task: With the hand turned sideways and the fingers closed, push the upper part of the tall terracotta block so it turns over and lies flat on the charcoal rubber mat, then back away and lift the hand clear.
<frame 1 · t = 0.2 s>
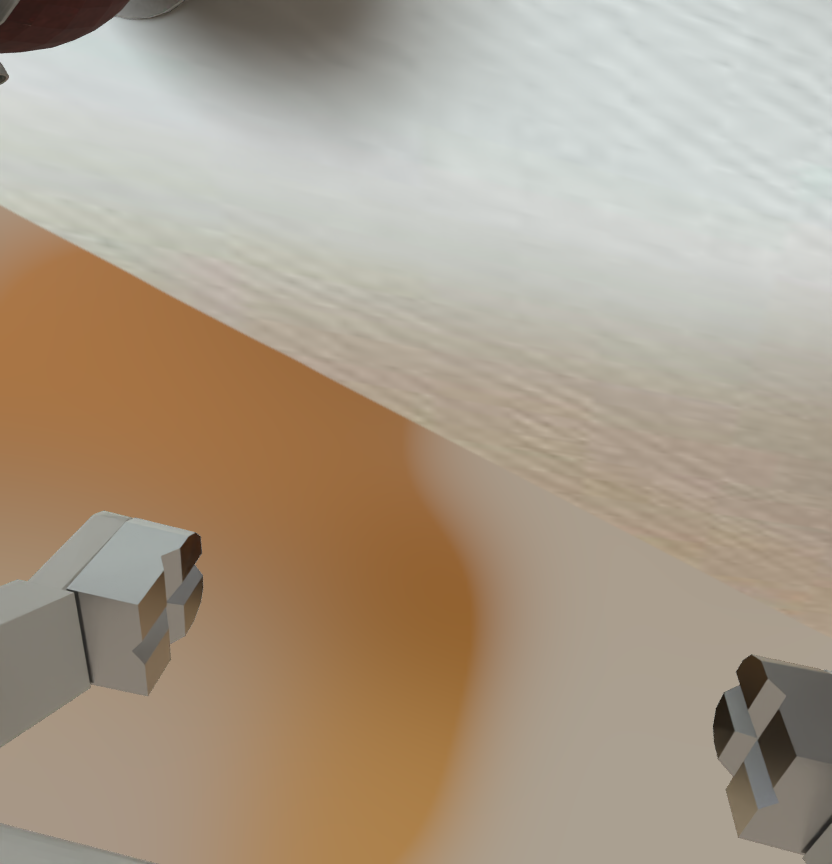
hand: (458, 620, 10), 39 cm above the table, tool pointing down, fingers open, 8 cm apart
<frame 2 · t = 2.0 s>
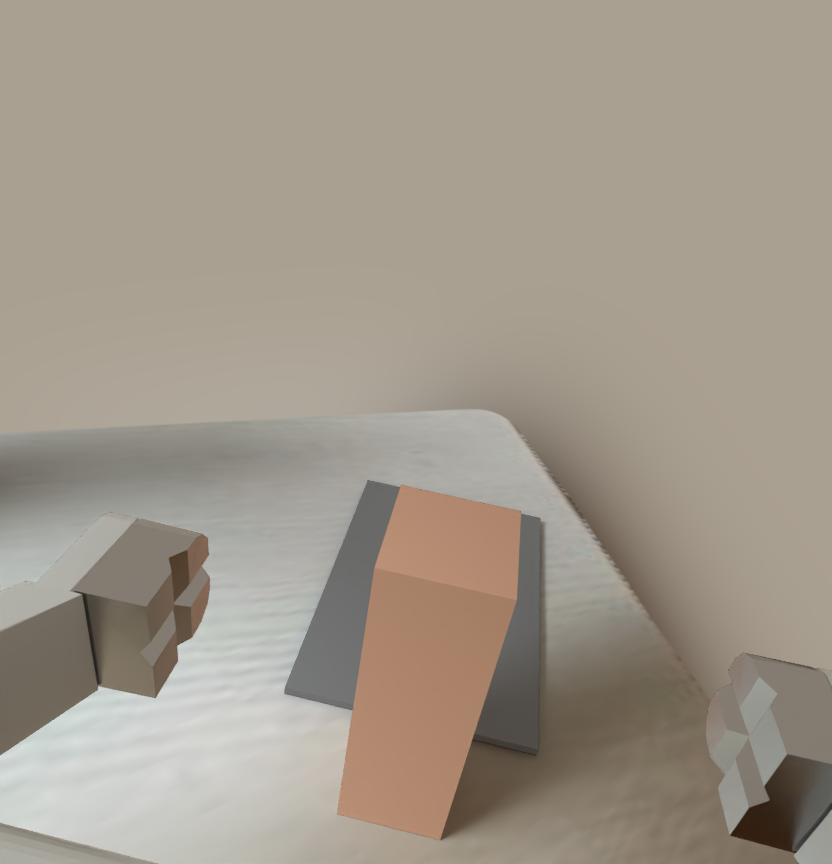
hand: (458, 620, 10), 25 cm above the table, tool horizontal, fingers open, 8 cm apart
terracotta block: (398, 776, 33), on the table
charcoal mat: (434, 592, 44), on the table
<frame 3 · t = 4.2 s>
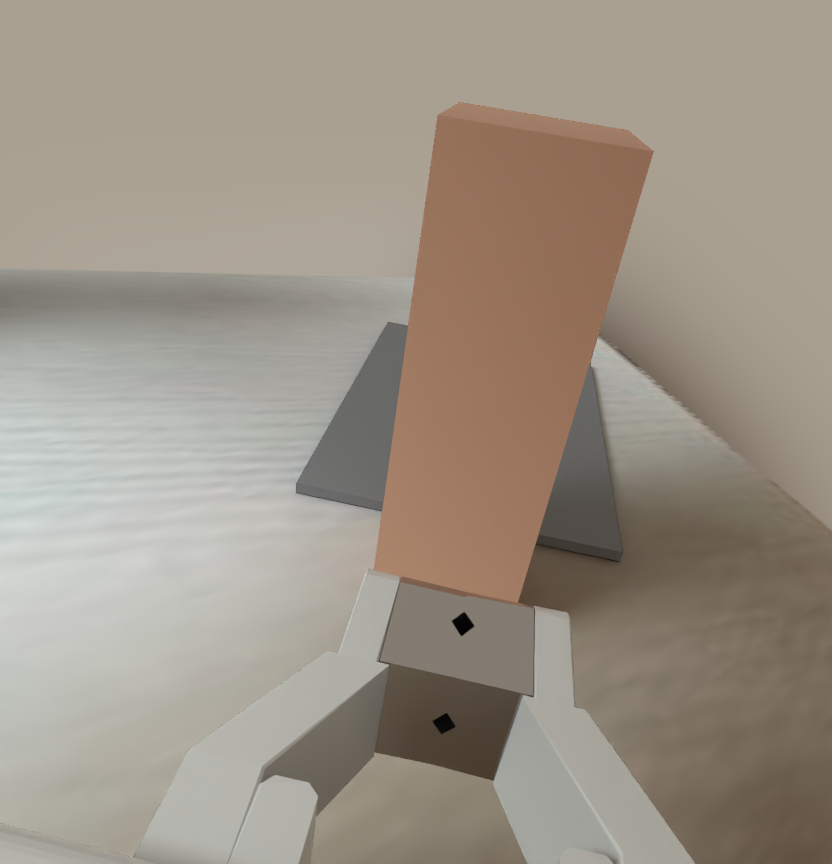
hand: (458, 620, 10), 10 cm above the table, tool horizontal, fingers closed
terracotta block: (446, 574, 25), on the table
charcoal mat: (474, 416, 37), on the table
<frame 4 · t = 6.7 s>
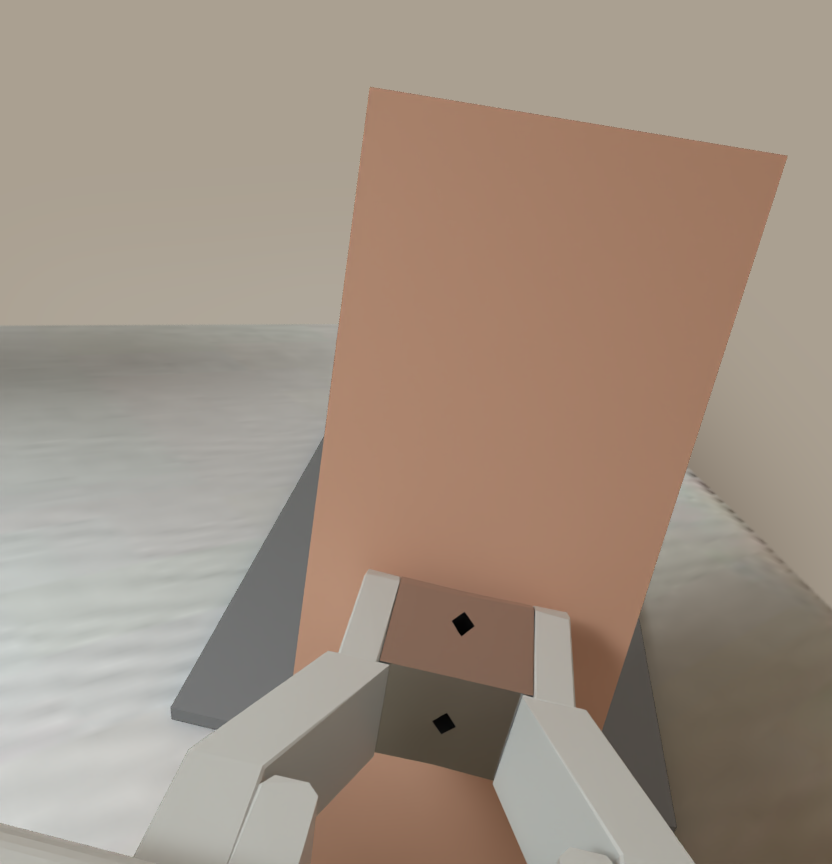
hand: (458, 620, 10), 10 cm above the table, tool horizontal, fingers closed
charcoal mat: (454, 545, 27), on the table
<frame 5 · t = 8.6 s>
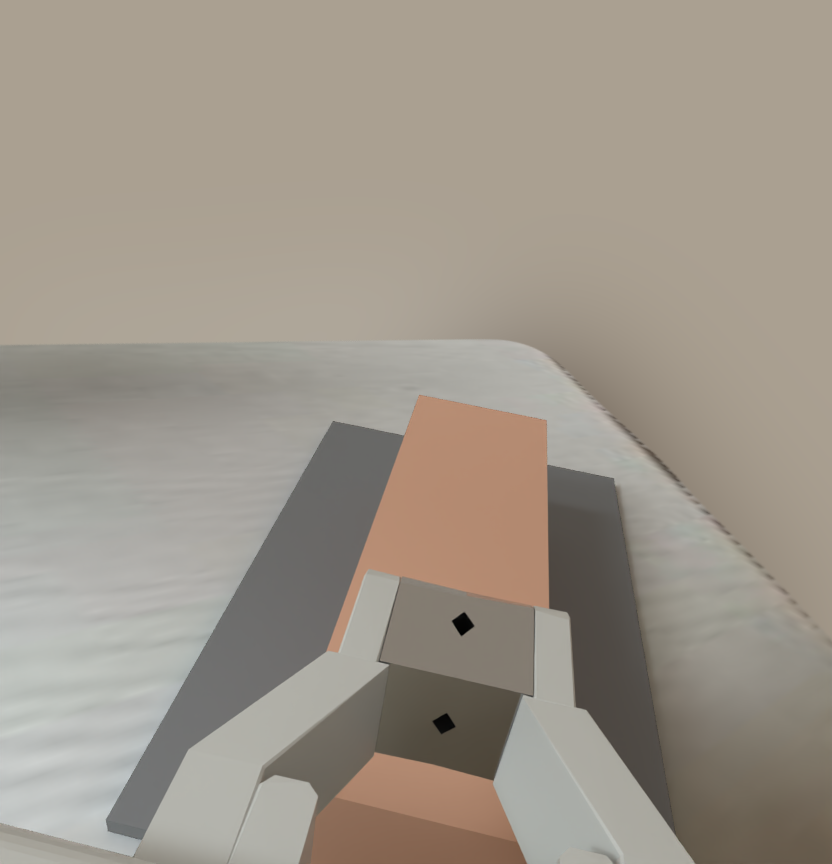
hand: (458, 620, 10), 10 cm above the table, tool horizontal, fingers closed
charcoal mat: (443, 600, 24), on the table
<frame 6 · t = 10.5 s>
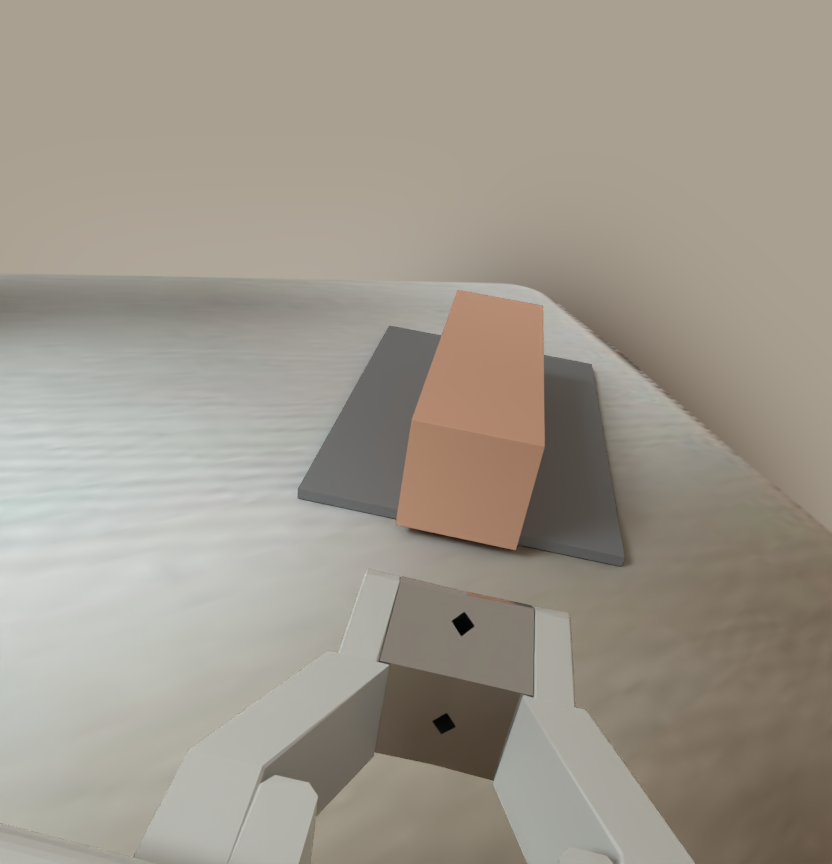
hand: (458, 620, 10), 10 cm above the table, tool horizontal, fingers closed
terracotta block: (465, 488, 26), point 3 cm above the table, tilted 90°, touching charcoal mat
charcoal mat: (475, 420, 37), on the table
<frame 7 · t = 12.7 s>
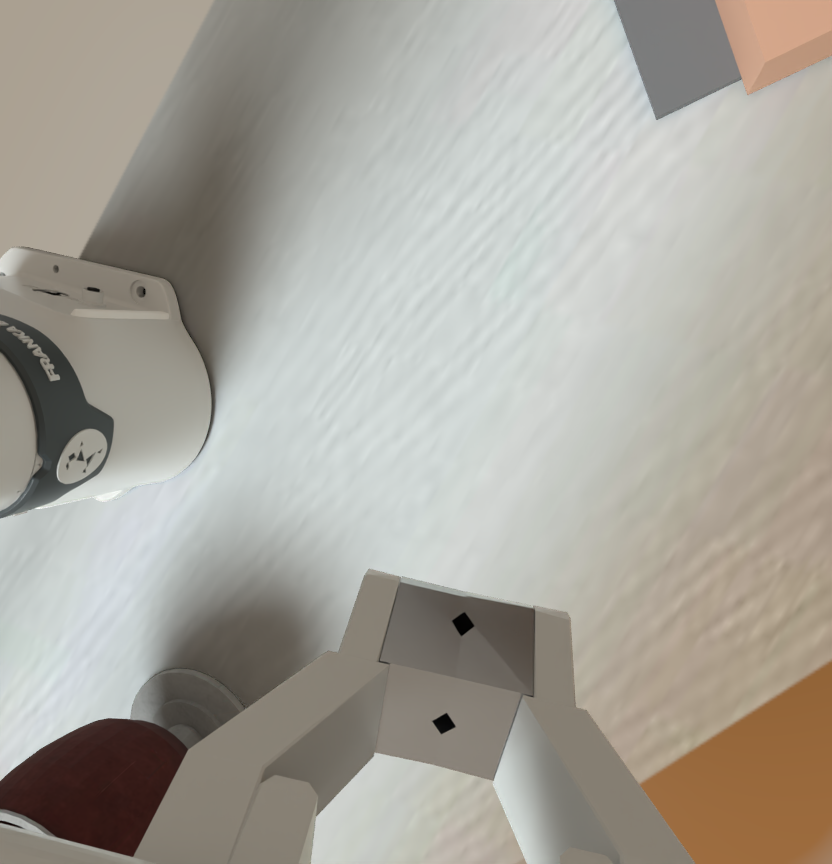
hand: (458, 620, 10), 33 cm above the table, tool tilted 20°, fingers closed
terracotta block: (810, 53, 32), point 3 cm above the table, tilted 90°, touching charcoal mat
mate gourd: (204, 733, 56), on the table
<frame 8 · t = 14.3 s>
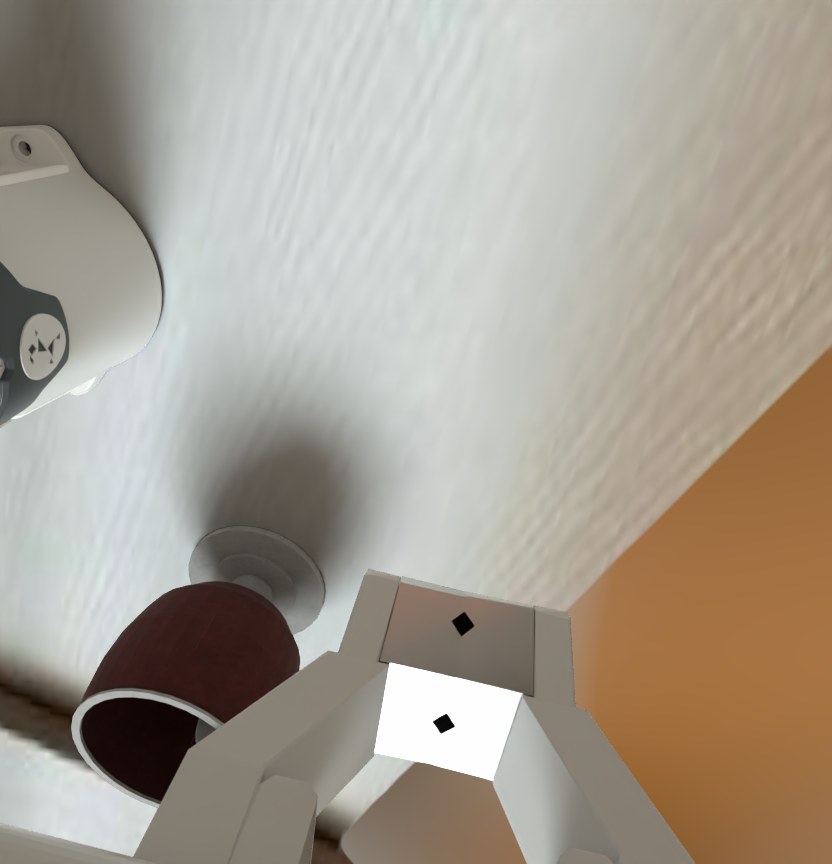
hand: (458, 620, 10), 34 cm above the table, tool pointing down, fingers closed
mate gourd: (265, 577, 58), on the table
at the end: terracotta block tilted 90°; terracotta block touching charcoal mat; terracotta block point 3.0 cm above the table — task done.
